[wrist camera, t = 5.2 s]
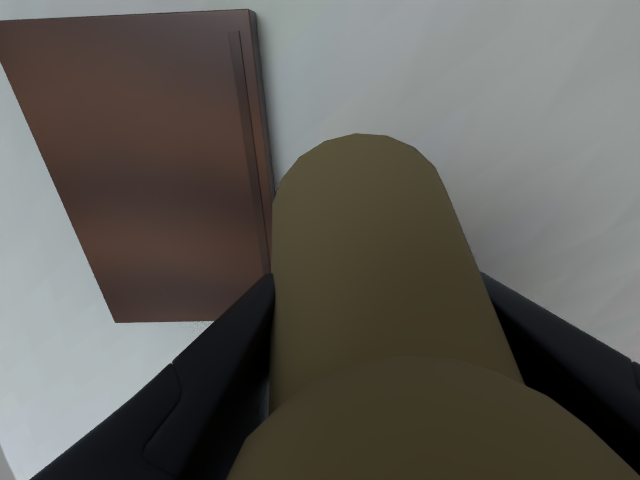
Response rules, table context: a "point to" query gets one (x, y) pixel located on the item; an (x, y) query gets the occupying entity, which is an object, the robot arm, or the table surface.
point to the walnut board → (153, 151)
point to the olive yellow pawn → (395, 339)
